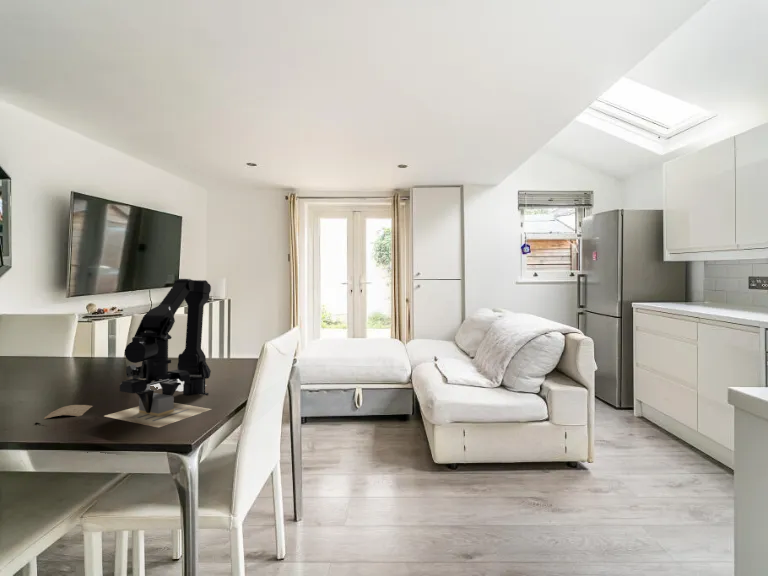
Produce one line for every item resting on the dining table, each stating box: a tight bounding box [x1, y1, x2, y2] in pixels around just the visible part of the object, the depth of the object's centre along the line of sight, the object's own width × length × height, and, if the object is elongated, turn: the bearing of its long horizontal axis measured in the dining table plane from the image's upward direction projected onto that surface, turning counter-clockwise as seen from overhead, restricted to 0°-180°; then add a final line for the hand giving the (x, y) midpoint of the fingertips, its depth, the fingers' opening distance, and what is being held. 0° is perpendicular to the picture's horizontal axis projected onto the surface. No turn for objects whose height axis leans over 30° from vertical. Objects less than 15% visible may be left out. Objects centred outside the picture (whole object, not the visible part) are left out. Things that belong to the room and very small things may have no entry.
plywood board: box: [104, 402, 213, 428], centre depth 123 cm, size 18×22×1 cm
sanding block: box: [138, 392, 175, 416], centre depth 124 cm, size 5×8×4 cm, turn 66°
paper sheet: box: [150, 379, 208, 392], centre depth 155 cm, size 24×29×1 cm
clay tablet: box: [35, 404, 94, 424], centre depth 122 cm, size 14×10×3 cm
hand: (156, 410), depth 124 cm, fingers closed on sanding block, 5 cm apart
